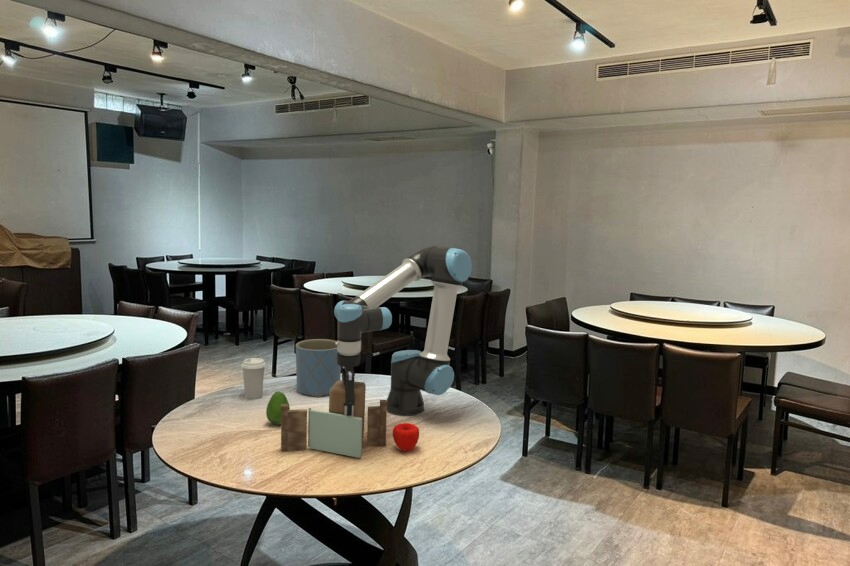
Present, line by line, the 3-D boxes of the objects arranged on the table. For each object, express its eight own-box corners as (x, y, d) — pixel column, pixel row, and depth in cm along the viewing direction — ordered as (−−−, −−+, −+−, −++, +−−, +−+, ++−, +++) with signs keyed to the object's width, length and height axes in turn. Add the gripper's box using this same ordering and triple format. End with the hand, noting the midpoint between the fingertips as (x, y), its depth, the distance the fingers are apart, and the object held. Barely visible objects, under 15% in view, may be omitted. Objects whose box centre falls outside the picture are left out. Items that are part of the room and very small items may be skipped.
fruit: (272, 418, 210) (273, 386, 208) (293, 421, 209) (293, 389, 207) (262, 426, 202) (262, 393, 201) (283, 429, 201) (283, 396, 199)
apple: (393, 442, 194) (393, 420, 192) (419, 443, 193) (420, 421, 192) (390, 453, 185) (391, 430, 184) (418, 455, 184) (419, 432, 183)
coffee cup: (247, 391, 237) (247, 356, 235) (269, 393, 236) (269, 358, 234) (236, 399, 228) (236, 362, 226) (259, 401, 227) (259, 364, 225)
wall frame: (384, 442, 193) (385, 399, 191) (385, 445, 191) (387, 402, 189) (281, 448, 185) (281, 403, 183) (280, 451, 183) (281, 406, 181)
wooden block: (357, 451, 184) (359, 391, 181) (327, 448, 185) (328, 388, 182) (364, 438, 194) (366, 381, 191) (335, 435, 195) (337, 379, 192)
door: (361, 456, 181) (362, 416, 179) (359, 458, 180) (360, 418, 178) (309, 446, 187) (309, 407, 185) (307, 447, 186) (307, 409, 184)
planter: (319, 401, 230) (320, 352, 227) (285, 391, 240) (285, 344, 237) (350, 389, 246) (351, 343, 243) (317, 380, 256) (318, 336, 253)
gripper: (334, 343, 196) (333, 404, 199) (339, 363, 173) (338, 432, 176) (356, 343, 197) (354, 403, 201) (364, 362, 174) (362, 431, 177)
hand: (346, 417), depth 188 cm, fingers closed on wooden block, 12 cm apart
